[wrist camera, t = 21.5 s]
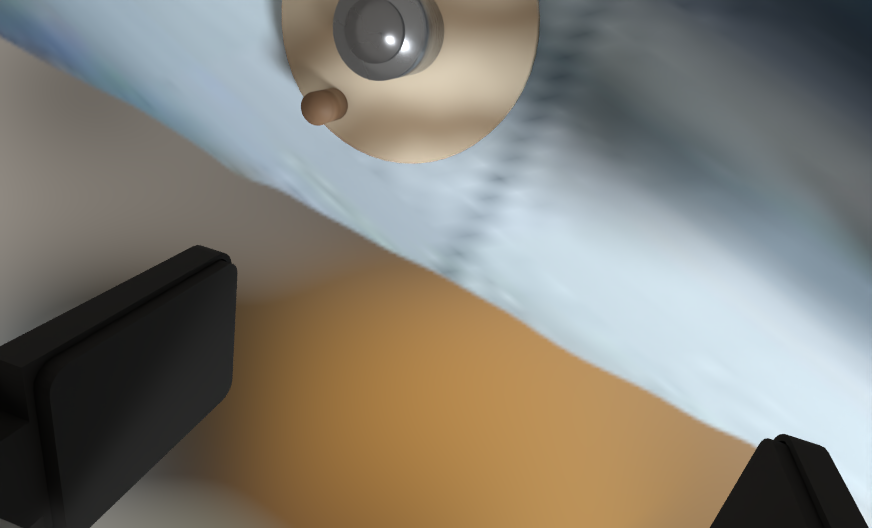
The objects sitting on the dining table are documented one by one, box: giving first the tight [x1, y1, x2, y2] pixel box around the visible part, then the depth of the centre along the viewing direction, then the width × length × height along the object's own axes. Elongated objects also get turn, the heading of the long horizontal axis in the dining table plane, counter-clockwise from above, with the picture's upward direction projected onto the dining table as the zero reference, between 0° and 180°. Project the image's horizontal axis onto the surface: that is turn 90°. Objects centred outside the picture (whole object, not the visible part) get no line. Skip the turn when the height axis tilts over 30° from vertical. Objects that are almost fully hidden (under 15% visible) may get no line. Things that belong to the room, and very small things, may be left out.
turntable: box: [282, 0, 540, 164], centre depth 33 cm, size 16×16×4 cm
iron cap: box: [333, 0, 444, 81], centre depth 31 cm, size 5×5×5 cm
